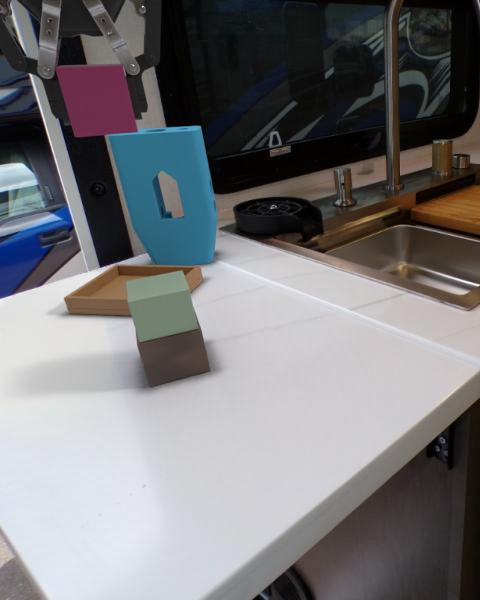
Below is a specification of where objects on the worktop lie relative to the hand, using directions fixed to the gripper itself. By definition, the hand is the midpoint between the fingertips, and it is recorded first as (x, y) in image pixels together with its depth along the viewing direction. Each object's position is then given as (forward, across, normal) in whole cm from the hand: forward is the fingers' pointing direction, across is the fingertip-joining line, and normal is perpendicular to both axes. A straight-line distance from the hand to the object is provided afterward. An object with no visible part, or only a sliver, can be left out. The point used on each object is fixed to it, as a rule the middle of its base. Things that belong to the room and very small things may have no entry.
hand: (104, 120), depth 48 cm
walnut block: (+25, -1, +4) cm, 25 cm away
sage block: (+20, -1, +3) cm, 20 cm away
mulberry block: (+1, 0, 0) cm, 1 cm away
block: (+25, -5, -28) cm, 38 cm away
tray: (+25, +2, -18) cm, 31 cm away
